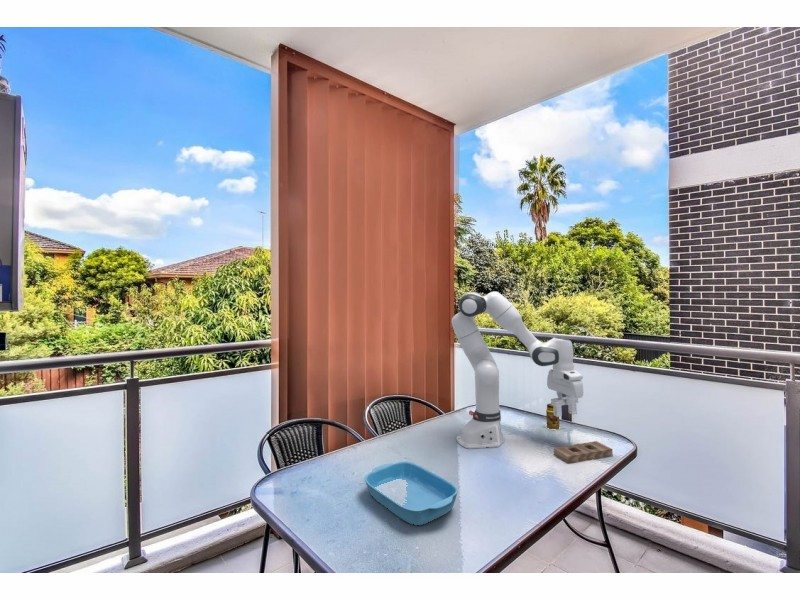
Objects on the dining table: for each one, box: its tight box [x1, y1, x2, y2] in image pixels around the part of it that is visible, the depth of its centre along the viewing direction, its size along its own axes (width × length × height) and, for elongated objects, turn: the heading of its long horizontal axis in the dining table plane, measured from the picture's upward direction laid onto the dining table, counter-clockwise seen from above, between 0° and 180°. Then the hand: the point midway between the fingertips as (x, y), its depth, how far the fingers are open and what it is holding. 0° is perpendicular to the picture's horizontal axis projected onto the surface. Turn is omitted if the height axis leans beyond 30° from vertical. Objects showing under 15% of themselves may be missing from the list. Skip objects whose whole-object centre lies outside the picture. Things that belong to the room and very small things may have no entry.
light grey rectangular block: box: [550, 396, 579, 418], centre depth 172 cm, size 12×3×8 cm, turn 105°
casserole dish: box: [364, 461, 459, 526], centre depth 132 cm, size 37×22×7 cm, turn 37°
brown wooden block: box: [553, 440, 613, 465], centre depth 162 cm, size 22×9×3 cm, turn 104°
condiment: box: [542, 403, 563, 430], centre depth 196 cm, size 7×8×12 cm
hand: (564, 403), depth 172 cm, fingers closed on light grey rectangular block, 3 cm apart
